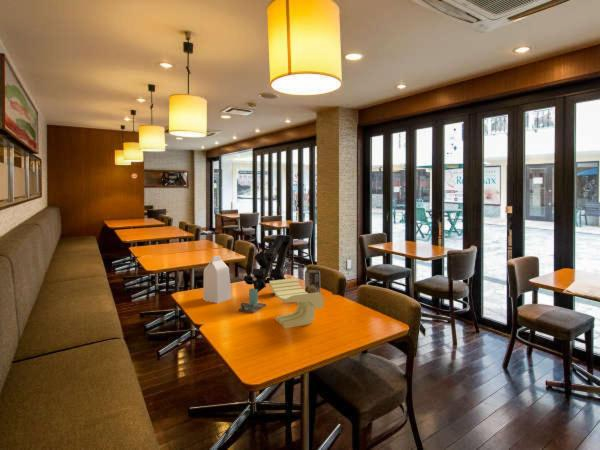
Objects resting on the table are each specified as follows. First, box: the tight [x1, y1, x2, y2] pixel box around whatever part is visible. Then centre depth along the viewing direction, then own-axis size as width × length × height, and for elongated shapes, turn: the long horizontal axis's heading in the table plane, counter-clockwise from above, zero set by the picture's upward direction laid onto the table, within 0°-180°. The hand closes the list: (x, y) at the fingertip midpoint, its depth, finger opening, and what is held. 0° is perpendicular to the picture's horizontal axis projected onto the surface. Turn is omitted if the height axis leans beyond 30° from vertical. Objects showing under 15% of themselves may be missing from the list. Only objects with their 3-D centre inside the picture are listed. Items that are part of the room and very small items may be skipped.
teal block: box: [244, 288, 259, 310], centre depth 200 cm, size 9×4×9 cm, turn 157°
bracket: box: [238, 302, 267, 314], centre depth 203 cm, size 14×9×4 cm, turn 157°
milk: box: [202, 255, 232, 304], centre depth 220 cm, size 12×12×26 cm
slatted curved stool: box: [269, 278, 324, 329], centre depth 182 cm, size 30×16×18 cm, turn 24°
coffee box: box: [304, 269, 321, 293], centre depth 222 cm, size 9×6×16 cm
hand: (254, 294), depth 205 cm, fingers closed, pressing on teal block
